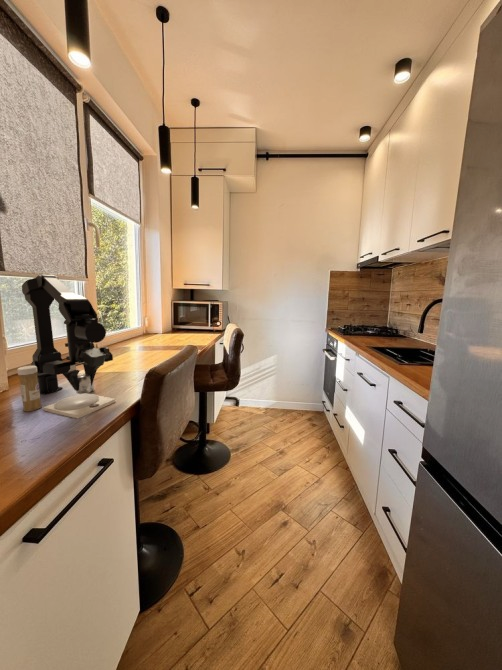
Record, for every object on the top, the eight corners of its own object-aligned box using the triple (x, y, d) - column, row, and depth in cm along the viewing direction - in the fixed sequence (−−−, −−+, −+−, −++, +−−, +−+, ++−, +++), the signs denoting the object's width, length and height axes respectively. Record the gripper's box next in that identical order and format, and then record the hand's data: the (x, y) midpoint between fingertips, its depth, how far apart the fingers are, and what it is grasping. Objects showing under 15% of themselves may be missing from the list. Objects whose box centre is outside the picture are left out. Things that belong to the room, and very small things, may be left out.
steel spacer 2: (79, 392, 95) (77, 379, 95) (89, 388, 99) (88, 376, 98) (86, 394, 94) (85, 380, 93) (96, 390, 98) (95, 377, 97)
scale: (43, 410, 80) (43, 405, 80) (83, 395, 92) (83, 391, 92) (77, 418, 75) (77, 413, 75) (115, 401, 87) (115, 397, 87)
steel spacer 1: (73, 392, 81) (71, 377, 80) (85, 388, 85) (84, 373, 84) (82, 394, 80) (80, 378, 79) (94, 390, 83) (93, 375, 83)
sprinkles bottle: (40, 409, 81) (35, 367, 79) (21, 413, 78) (15, 369, 76) (42, 404, 85) (37, 364, 83) (24, 407, 82) (18, 366, 80)
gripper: (65, 346, 68) (71, 403, 71) (123, 336, 86) (126, 382, 88) (38, 343, 72) (44, 397, 75) (98, 334, 89) (102, 378, 92)
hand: (83, 388), depth 82 cm, fingers closed on steel spacer 1, 4 cm apart
